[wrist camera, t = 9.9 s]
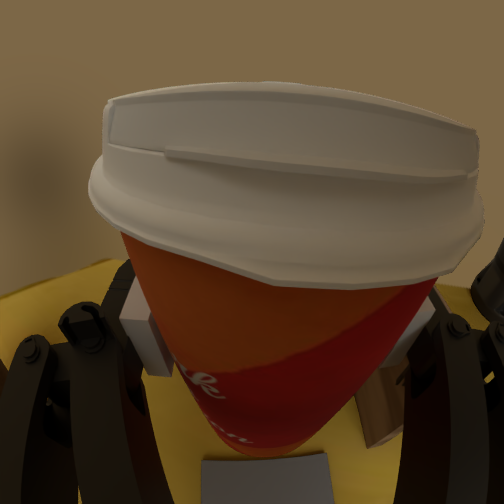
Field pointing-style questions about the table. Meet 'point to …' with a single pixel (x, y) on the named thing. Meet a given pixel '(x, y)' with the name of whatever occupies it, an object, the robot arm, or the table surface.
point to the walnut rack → (383, 402)
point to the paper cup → (283, 238)
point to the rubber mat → (267, 481)
